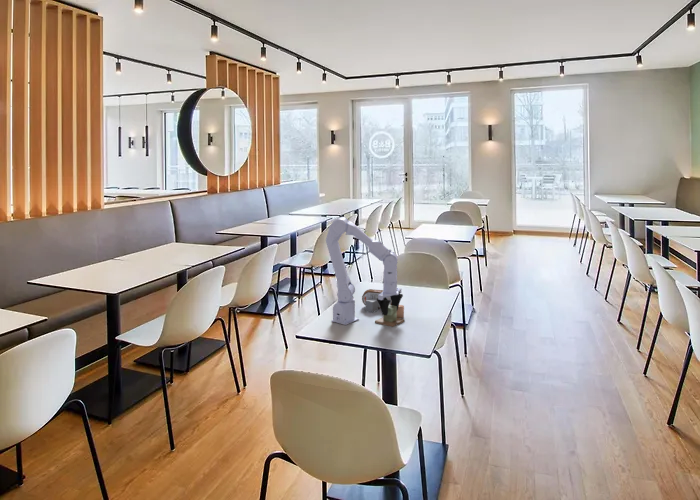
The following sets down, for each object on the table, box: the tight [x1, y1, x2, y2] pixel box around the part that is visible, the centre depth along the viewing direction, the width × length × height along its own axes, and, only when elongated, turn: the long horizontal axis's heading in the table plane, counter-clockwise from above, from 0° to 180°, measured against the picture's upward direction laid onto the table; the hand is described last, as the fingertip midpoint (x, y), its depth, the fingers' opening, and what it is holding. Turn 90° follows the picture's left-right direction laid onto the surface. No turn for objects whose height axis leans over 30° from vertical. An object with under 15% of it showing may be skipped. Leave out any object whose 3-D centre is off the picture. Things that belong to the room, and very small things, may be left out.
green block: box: [382, 305, 397, 322], centre depth 202 cm, size 4×4×6 cm
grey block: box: [365, 299, 379, 313], centre depth 218 cm, size 4×4×5 cm
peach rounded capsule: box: [397, 304, 405, 319], centre depth 209 cm, size 4×4×5 cm
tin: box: [361, 288, 392, 309], centre depth 222 cm, size 15×3×8 cm, turn 74°
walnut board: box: [374, 317, 406, 328], centre depth 203 cm, size 9×9×1 cm
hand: (389, 312), depth 202 cm, fingers open, 7 cm apart
